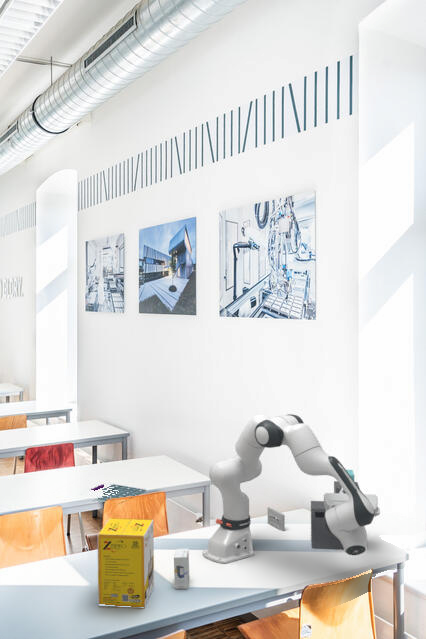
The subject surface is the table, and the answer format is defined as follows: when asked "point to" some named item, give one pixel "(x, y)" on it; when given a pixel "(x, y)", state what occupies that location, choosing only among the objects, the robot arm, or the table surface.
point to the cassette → (279, 520)
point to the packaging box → (125, 562)
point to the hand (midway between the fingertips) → (349, 487)
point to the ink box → (181, 569)
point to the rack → (318, 530)
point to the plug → (351, 473)
